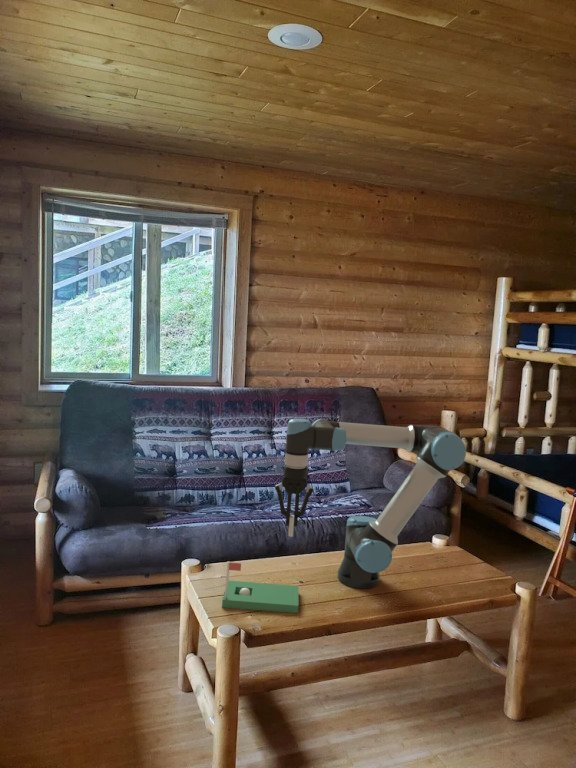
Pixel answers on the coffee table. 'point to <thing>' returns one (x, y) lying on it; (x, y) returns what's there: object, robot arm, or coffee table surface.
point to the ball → (244, 591)
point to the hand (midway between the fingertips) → (290, 535)
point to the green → (262, 597)
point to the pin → (229, 567)
